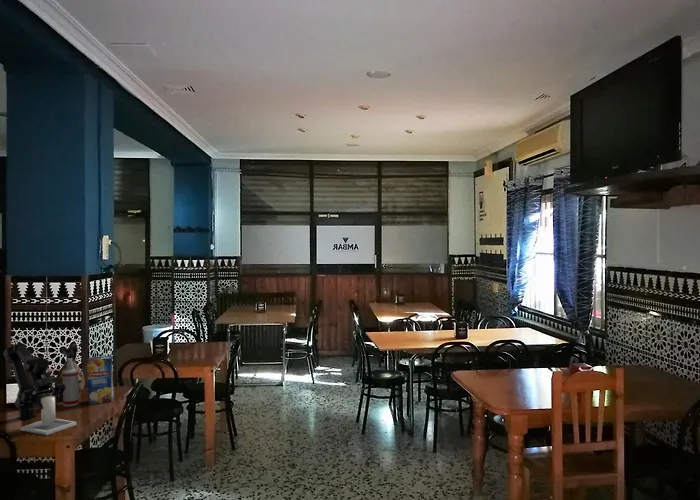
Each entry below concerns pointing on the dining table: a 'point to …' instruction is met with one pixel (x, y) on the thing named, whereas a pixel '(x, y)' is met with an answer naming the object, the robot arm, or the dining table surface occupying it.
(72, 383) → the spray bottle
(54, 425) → the tray
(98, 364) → the juice carton
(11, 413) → the dining table surface
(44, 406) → the grey rounded cylinder
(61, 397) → the ceramic jug
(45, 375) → the beer stein
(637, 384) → the dining table surface
